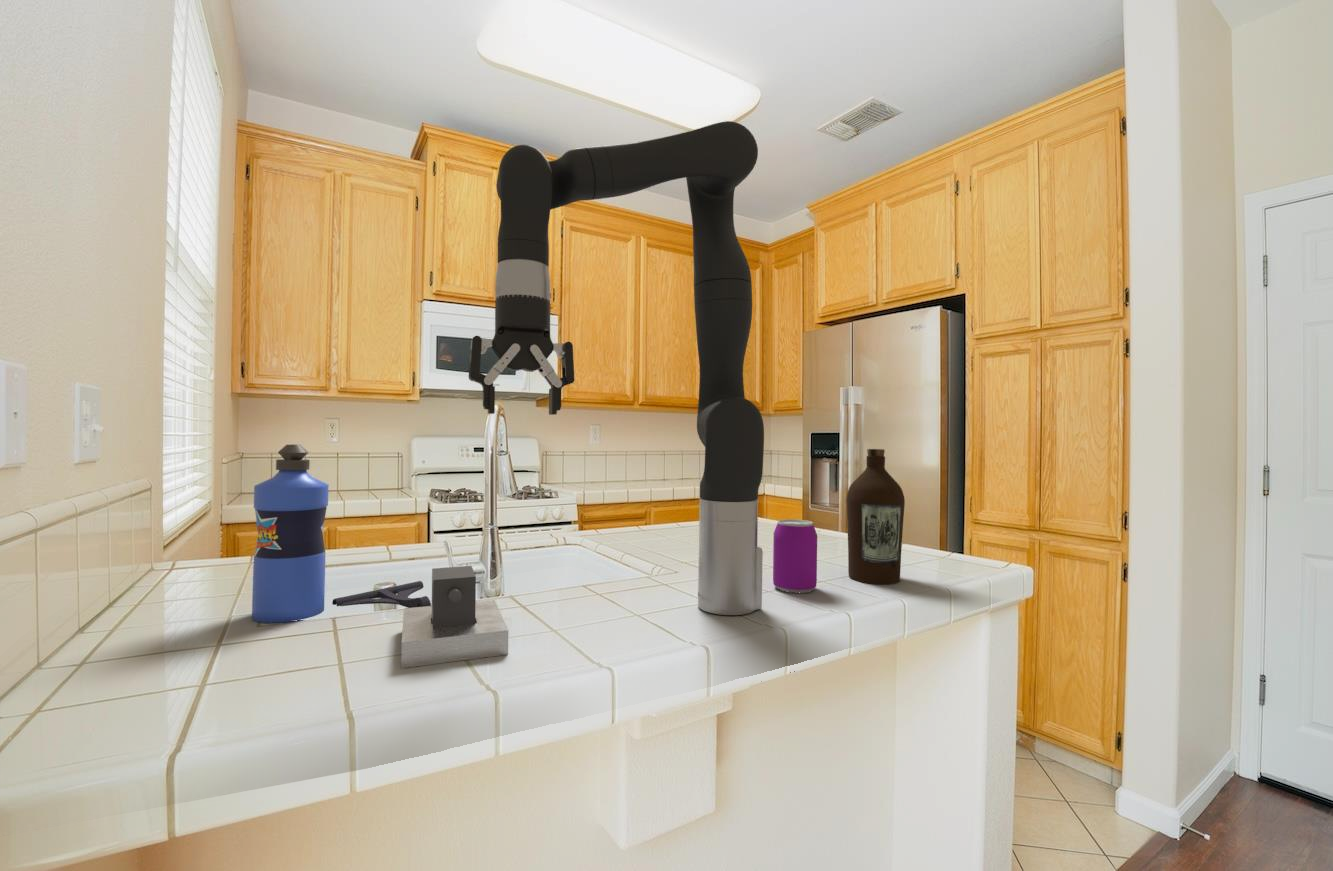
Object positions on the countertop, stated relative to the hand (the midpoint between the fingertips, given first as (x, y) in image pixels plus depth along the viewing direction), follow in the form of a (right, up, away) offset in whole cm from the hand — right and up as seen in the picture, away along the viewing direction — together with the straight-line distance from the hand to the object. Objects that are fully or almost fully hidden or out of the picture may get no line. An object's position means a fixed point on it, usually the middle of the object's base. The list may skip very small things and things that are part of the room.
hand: (522, 414), depth 83 cm
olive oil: (+60, -31, +31) cm, 75 cm away
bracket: (-22, -30, +11) cm, 39 cm away
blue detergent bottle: (-36, -30, +5) cm, 47 cm away
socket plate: (-8, -30, -6) cm, 31 cm away
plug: (-8, -29, -6) cm, 30 cm away
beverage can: (+43, -31, +23) cm, 58 cm away
